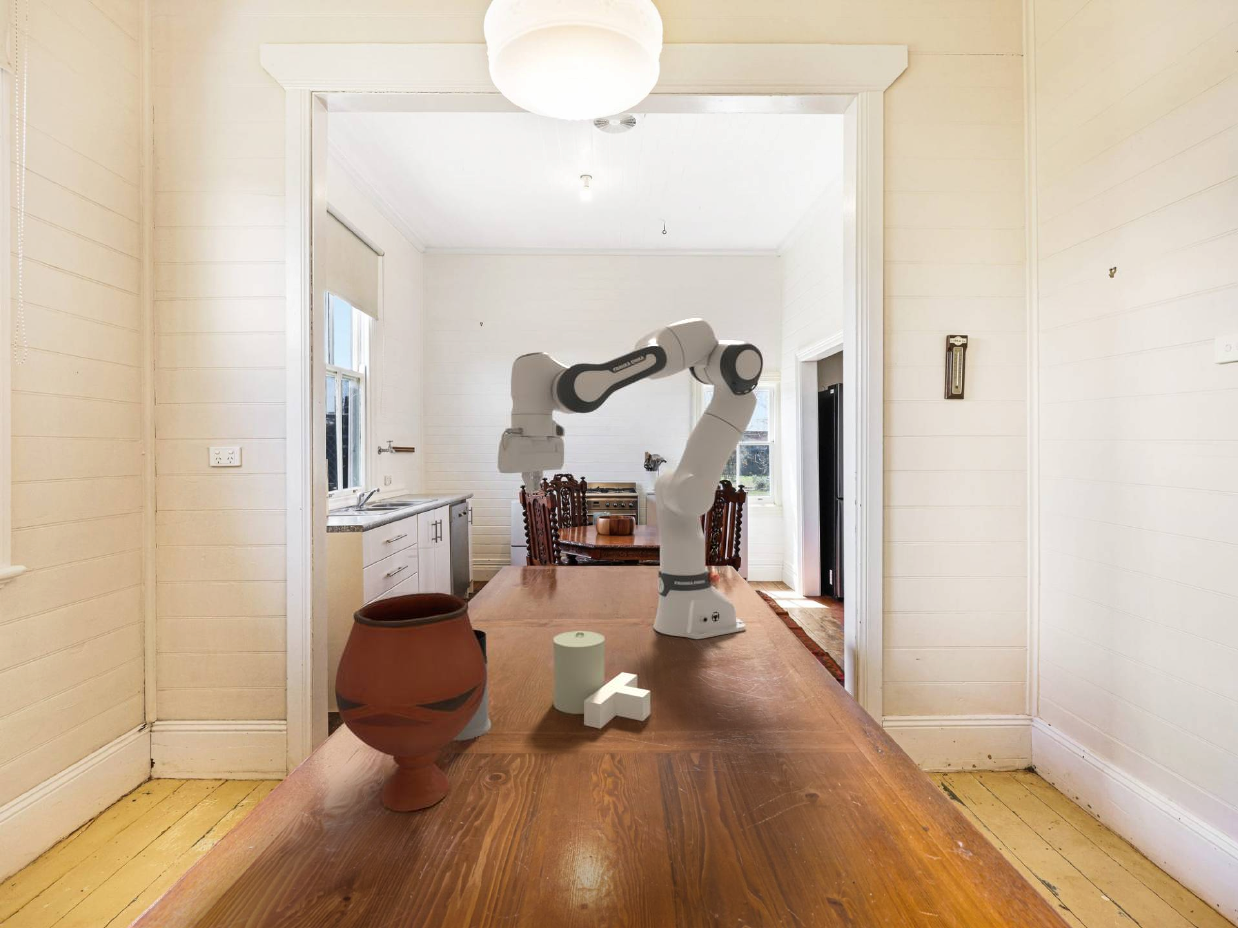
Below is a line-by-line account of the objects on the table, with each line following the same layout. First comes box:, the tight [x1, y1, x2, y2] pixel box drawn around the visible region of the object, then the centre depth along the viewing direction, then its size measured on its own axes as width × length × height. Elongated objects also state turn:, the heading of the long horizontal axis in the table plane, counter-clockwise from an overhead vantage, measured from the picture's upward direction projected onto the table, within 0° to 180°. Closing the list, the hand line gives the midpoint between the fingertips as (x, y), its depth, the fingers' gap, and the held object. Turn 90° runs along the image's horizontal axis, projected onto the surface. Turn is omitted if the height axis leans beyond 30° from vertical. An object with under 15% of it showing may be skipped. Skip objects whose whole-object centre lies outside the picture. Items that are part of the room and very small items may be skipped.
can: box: [552, 630, 606, 715], centre depth 111 cm, size 9×9×12 cm
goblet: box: [334, 592, 487, 813], centre depth 83 cm, size 19×19×25 cm
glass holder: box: [452, 628, 492, 741], centre depth 99 cm, size 9×14×15 cm, turn 164°
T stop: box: [583, 671, 651, 729], centre depth 107 cm, size 8×14×4 cm, turn 153°
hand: (532, 492), depth 136 cm, fingers closed
